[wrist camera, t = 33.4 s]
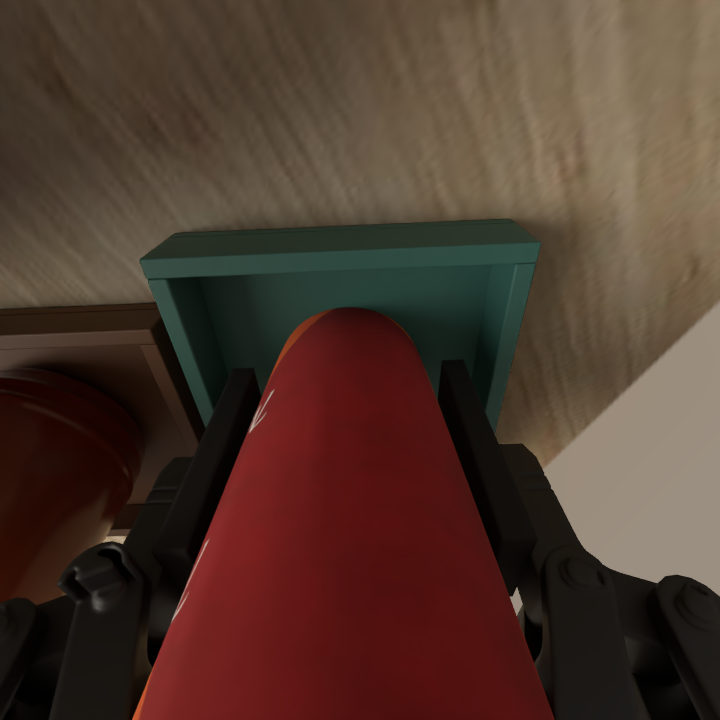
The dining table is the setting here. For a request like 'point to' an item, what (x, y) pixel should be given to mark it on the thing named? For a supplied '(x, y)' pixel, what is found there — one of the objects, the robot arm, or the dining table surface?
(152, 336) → the walnut tray
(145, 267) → the teal tray
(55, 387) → the mug
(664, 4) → the dining table surface
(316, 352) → the paper cup
